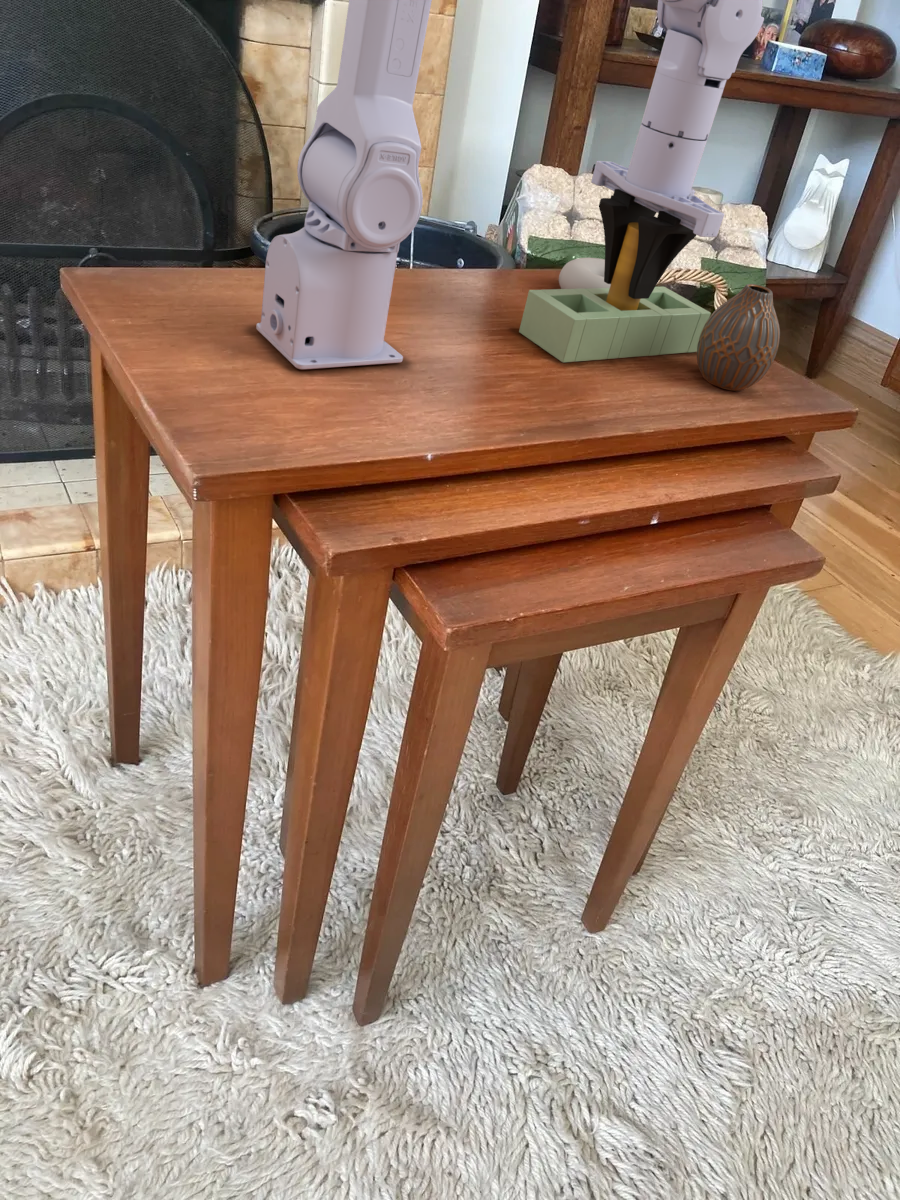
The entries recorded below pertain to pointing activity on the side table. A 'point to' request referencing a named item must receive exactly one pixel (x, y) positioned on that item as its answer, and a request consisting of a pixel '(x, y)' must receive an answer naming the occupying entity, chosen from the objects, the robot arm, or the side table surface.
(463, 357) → the side table surface
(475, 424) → the side table surface
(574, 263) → the donut
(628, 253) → the peg
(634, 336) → the peg block
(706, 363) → the vase
